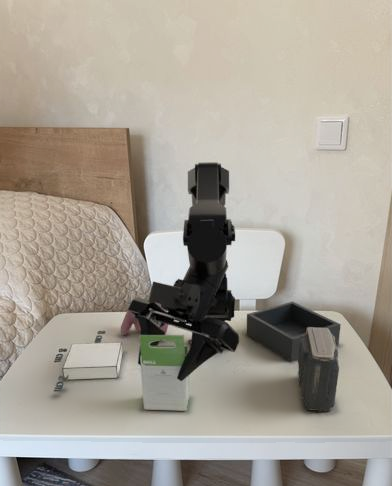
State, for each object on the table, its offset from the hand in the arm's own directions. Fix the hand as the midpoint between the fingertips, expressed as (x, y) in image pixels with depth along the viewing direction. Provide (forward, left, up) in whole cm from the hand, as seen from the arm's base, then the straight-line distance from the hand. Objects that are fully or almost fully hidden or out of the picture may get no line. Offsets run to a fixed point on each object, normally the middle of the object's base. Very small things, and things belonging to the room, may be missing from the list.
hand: (159, 372), depth 80 cm
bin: (-8, +33, -7) cm, 35 cm away
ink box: (-1, +1, -7) cm, 7 cm away
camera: (+10, +23, -7) cm, 26 cm away
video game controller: (-27, +10, -7) cm, 29 cm away
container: (-20, -5, -7) cm, 21 cm away
